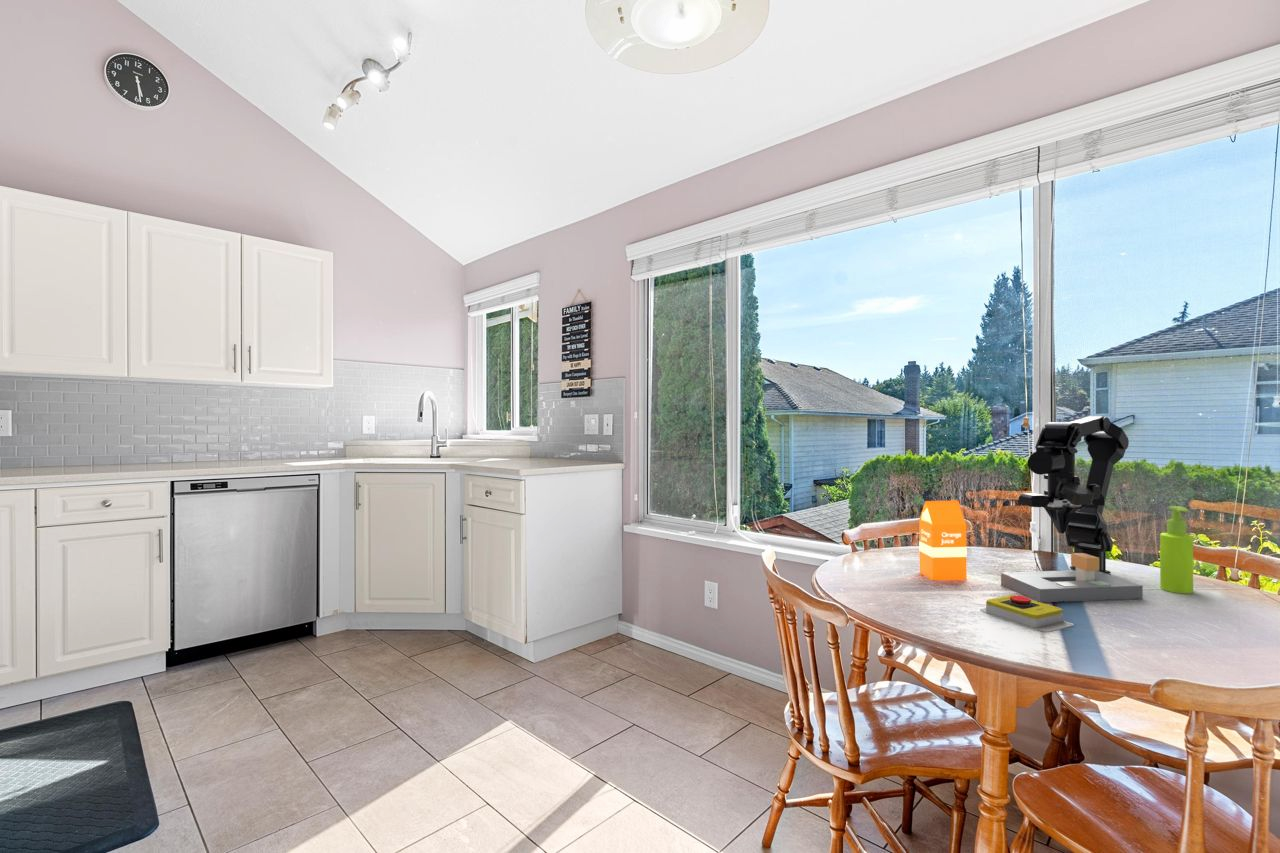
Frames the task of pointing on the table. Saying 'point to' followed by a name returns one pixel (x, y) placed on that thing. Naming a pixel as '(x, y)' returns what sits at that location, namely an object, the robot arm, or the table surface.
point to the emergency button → (1027, 613)
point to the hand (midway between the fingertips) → (1061, 533)
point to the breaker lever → (1084, 566)
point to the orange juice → (942, 541)
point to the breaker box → (1070, 586)
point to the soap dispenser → (1176, 555)
